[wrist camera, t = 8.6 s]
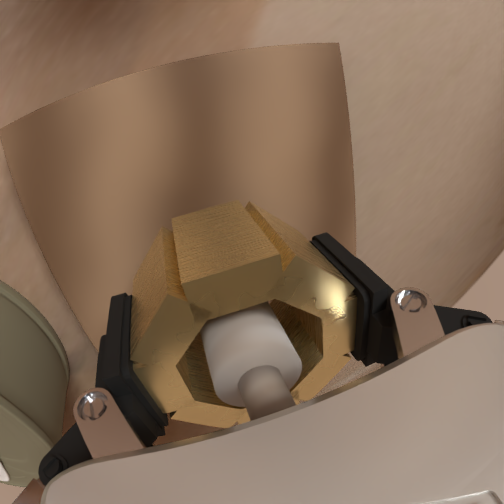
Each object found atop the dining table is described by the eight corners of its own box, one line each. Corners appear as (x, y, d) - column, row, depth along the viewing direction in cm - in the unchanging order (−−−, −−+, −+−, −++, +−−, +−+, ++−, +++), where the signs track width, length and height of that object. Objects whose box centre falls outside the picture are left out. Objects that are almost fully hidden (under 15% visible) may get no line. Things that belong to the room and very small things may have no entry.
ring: (296, 184, 11) (360, 228, 8) (310, 322, 14) (352, 385, 11) (111, 237, 10) (94, 309, 6) (171, 366, 13) (184, 442, 10)
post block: (321, 46, 12) (507, 29, 4) (342, 328, 20) (422, 436, 12) (13, 125, 10) (-150, 194, 2) (140, 393, 18) (157, 530, 10)
